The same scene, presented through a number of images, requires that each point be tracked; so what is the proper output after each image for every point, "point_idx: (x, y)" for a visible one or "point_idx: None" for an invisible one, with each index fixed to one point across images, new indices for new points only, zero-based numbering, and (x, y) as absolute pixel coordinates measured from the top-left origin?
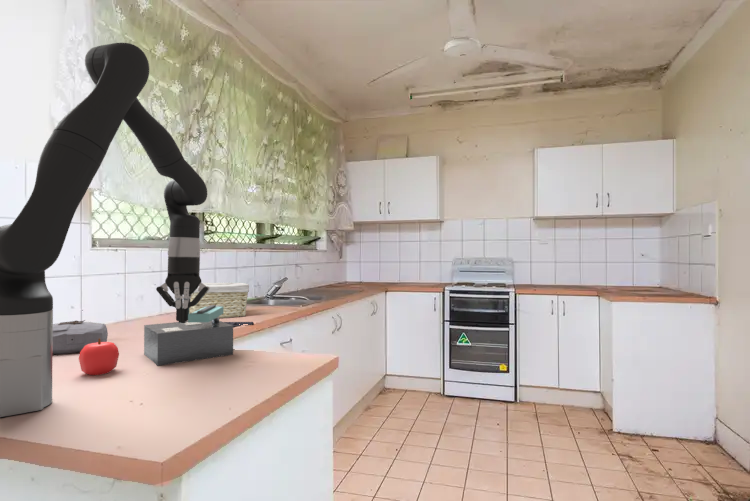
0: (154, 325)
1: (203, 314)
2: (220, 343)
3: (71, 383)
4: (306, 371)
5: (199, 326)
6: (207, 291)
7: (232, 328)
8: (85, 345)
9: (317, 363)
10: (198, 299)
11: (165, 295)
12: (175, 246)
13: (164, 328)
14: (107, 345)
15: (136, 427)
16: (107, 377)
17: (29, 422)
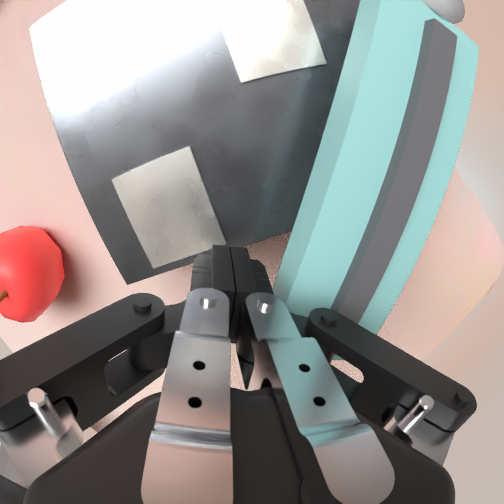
0: (67, 37)
1: (338, 359)
2: None
3: (39, 317)
4: (434, 344)
5: (309, 135)
6: (449, 382)
7: None
8: None
9: (470, 303)
10: (350, 394)
11: (92, 411)
12: None
13: (122, 145)
14: (29, 314)
15: None
16: (76, 301)
17: (102, 426)
